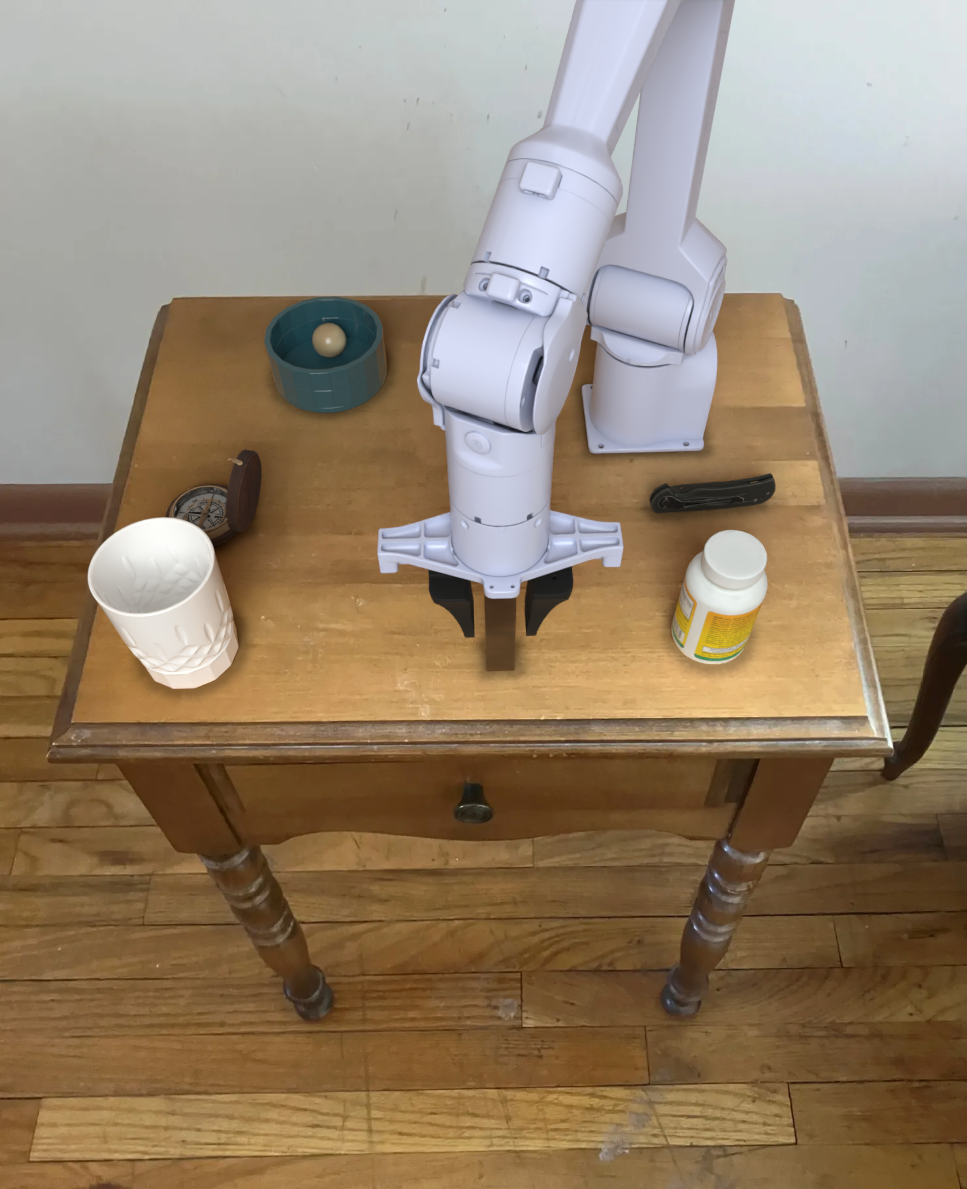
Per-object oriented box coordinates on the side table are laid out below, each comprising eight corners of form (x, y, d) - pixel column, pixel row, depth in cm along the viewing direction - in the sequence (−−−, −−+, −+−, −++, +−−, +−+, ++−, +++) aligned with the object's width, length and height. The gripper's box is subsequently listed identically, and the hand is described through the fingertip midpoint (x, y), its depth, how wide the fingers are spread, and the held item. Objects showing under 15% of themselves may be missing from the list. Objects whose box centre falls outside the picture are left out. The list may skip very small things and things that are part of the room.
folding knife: (767, 496, 77) (776, 470, 75) (772, 508, 76) (781, 482, 74) (646, 507, 77) (651, 481, 74) (650, 519, 76) (655, 494, 73)
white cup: (224, 706, 67) (186, 625, 59) (117, 687, 68) (65, 604, 60) (262, 613, 71) (232, 526, 63) (161, 597, 72) (119, 508, 64)
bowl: (389, 335, 89) (384, 294, 86) (385, 411, 83) (380, 371, 80) (280, 338, 89) (271, 297, 86) (268, 415, 83) (258, 374, 80)
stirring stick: (513, 646, 69) (515, 561, 61) (514, 671, 68) (516, 586, 60) (485, 647, 69) (483, 561, 61) (486, 671, 68) (484, 587, 60)
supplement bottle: (655, 637, 69) (675, 554, 62) (699, 592, 72) (724, 507, 64) (717, 681, 67) (746, 601, 59) (761, 633, 70) (794, 550, 62)
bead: (349, 342, 88) (345, 315, 85) (347, 364, 86) (342, 337, 84) (316, 343, 88) (310, 316, 85) (313, 365, 86) (308, 338, 84)
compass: (181, 487, 78) (155, 422, 73) (276, 498, 78) (258, 432, 72) (146, 565, 74) (116, 502, 68) (247, 577, 73) (225, 514, 67)
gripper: (366, 547, 52) (389, 678, 63) (638, 540, 52) (614, 672, 63) (372, 451, 56) (393, 590, 67) (624, 444, 56) (603, 584, 67)
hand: (499, 624), depth 65 cm, fingers open, 3 cm apart
